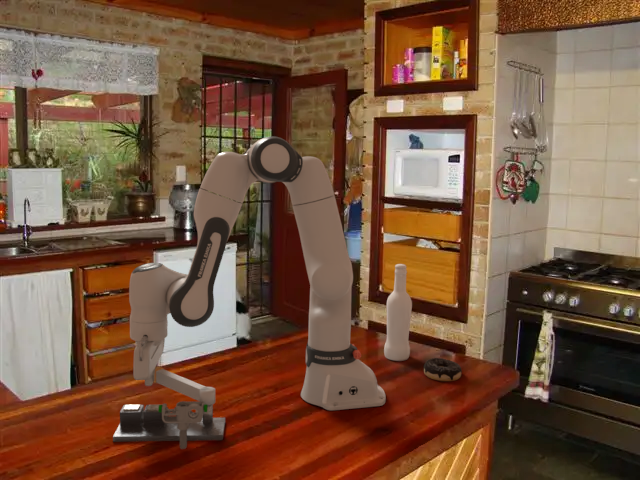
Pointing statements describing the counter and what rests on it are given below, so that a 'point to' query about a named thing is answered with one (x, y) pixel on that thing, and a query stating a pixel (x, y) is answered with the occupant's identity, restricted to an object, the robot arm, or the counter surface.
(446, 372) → the donut
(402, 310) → the bottle
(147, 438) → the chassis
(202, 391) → the lever
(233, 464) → the counter surface
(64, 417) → the counter surface
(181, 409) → the mechanical component
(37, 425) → the counter surface
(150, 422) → the block
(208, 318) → the robot arm
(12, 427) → the counter surface
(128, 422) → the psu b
